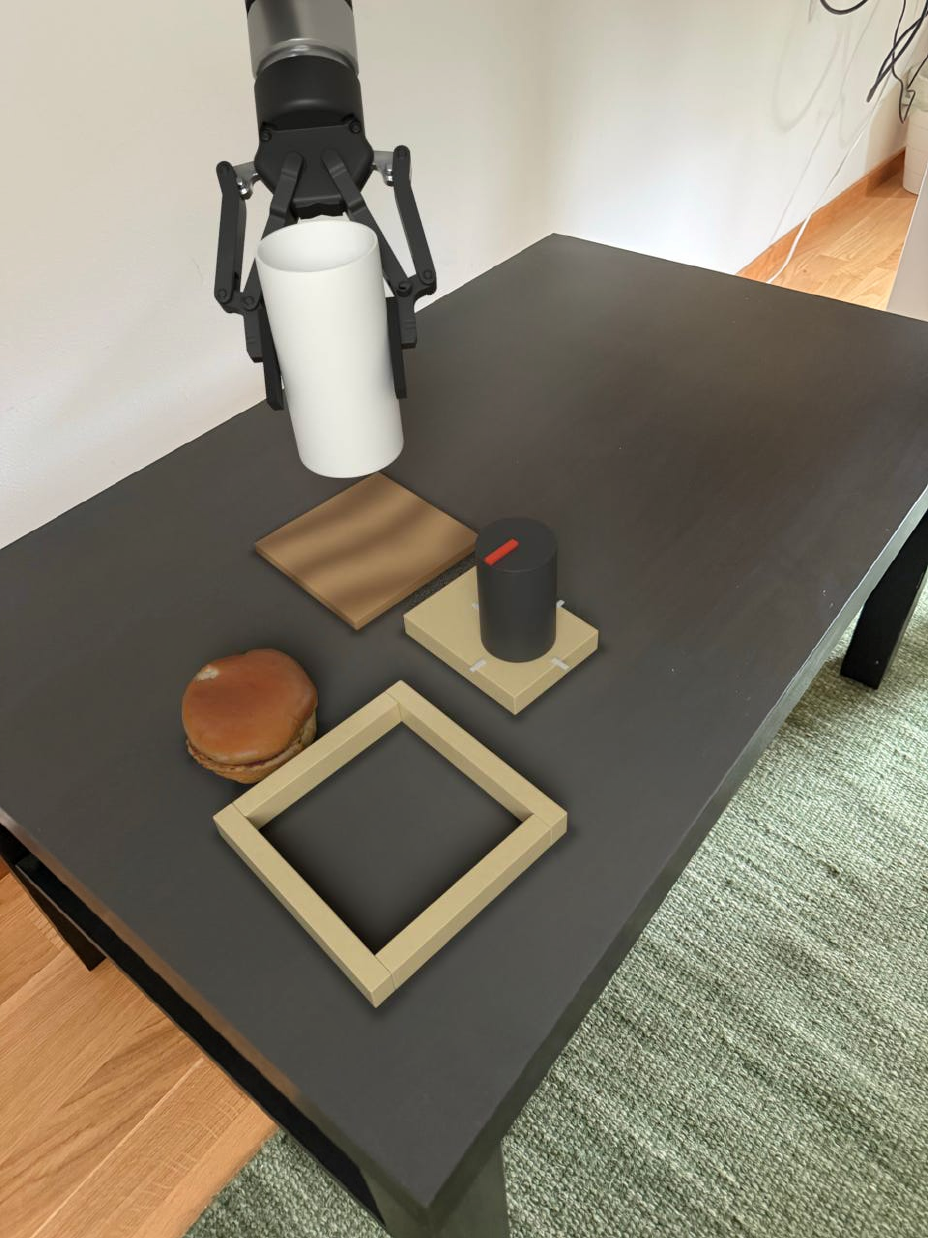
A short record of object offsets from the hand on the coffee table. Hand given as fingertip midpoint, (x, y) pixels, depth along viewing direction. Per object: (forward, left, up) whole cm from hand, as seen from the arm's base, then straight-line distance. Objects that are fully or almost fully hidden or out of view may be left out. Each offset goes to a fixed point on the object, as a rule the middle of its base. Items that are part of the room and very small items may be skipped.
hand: (338, 399), depth 66 cm
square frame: (+20, -15, -17) cm, 30 cm away
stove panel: (+13, +2, -17) cm, 22 cm away
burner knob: (+15, +2, -15) cm, 21 cm away
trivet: (-3, +2, -17) cm, 17 cm away
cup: (-3, +2, -6) cm, 7 cm away
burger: (+7, -16, -17) cm, 25 cm away
